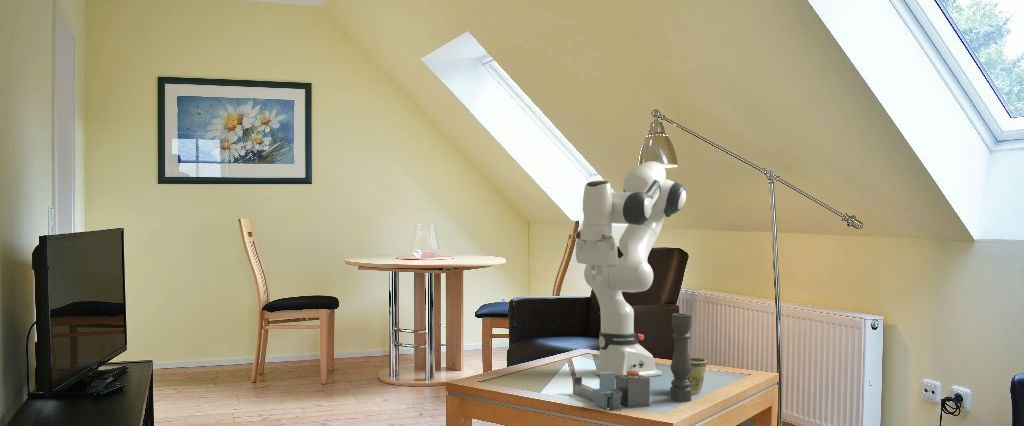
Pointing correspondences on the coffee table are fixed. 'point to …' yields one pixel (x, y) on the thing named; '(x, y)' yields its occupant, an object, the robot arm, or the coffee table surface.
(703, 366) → the ceramic cup
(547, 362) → the coffee table surface
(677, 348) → the candle holder
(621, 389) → the cabinet
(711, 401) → the coffee table surface
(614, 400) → the rail
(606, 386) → the carriage
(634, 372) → the gauge button
